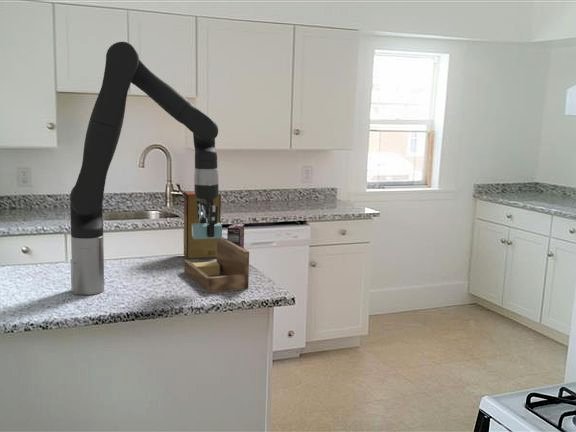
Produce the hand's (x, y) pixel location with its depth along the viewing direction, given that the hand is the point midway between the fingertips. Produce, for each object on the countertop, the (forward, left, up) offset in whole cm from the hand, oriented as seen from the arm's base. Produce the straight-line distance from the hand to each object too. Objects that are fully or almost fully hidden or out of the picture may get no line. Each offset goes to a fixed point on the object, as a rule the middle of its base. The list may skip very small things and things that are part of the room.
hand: (207, 234), depth 186 cm
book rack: (+5, +5, -17) cm, 18 cm away
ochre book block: (+4, +14, -17) cm, 22 cm away
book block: (0, 0, -1) cm, 1 cm away
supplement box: (+16, +16, -17) cm, 28 cm away
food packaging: (+11, +39, -17) cm, 44 cm away
